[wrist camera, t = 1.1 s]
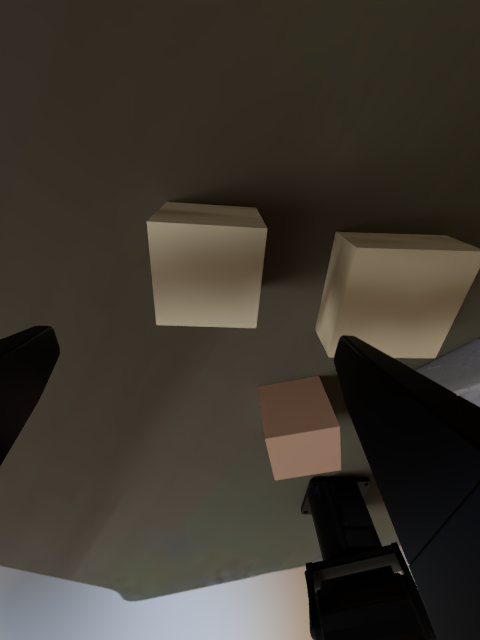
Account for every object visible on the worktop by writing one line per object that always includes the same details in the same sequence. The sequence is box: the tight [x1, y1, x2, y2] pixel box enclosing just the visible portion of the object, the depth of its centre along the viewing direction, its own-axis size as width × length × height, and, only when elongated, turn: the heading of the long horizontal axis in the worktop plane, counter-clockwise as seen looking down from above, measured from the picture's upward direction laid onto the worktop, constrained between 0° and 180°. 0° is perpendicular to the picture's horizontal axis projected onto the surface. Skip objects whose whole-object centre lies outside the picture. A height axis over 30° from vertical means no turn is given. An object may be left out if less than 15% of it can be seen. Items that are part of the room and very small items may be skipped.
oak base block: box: [315, 232, 480, 358], centre depth 18 cm, size 7×7×4 cm
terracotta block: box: [258, 376, 341, 480], centre depth 23 cm, size 5×5×5 cm
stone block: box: [414, 338, 480, 407], centre depth 24 cm, size 12×5×10 cm
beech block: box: [147, 202, 267, 328], centre depth 15 cm, size 5×5×5 cm
